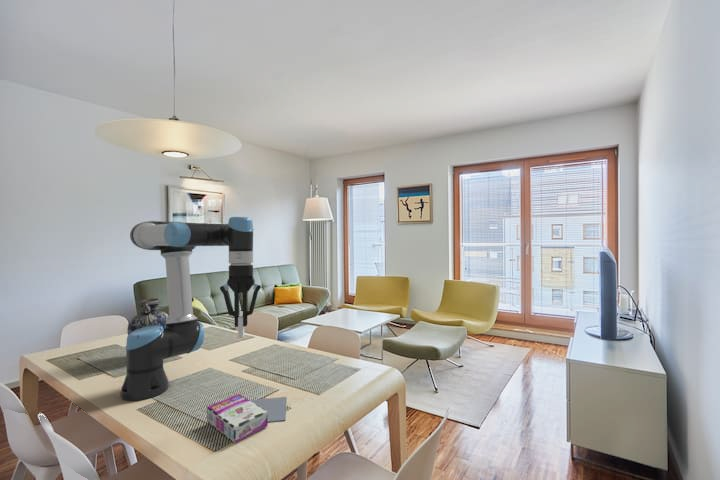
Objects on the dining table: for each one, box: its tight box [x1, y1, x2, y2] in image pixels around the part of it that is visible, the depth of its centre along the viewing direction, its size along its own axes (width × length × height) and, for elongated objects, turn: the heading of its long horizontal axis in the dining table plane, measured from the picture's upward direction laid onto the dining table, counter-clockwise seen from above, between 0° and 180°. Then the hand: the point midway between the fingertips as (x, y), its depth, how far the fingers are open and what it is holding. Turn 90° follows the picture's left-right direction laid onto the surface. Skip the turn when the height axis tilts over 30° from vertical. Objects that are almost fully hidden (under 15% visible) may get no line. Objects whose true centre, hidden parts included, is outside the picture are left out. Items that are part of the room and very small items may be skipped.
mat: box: [249, 396, 287, 423], centre depth 113 cm, size 18×16×1 cm
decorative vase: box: [126, 297, 169, 336], centre depth 167 cm, size 21×19×28 cm
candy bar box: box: [206, 393, 269, 444], centre depth 104 cm, size 11×5×16 cm
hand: (241, 336), depth 112 cm, fingers closed
